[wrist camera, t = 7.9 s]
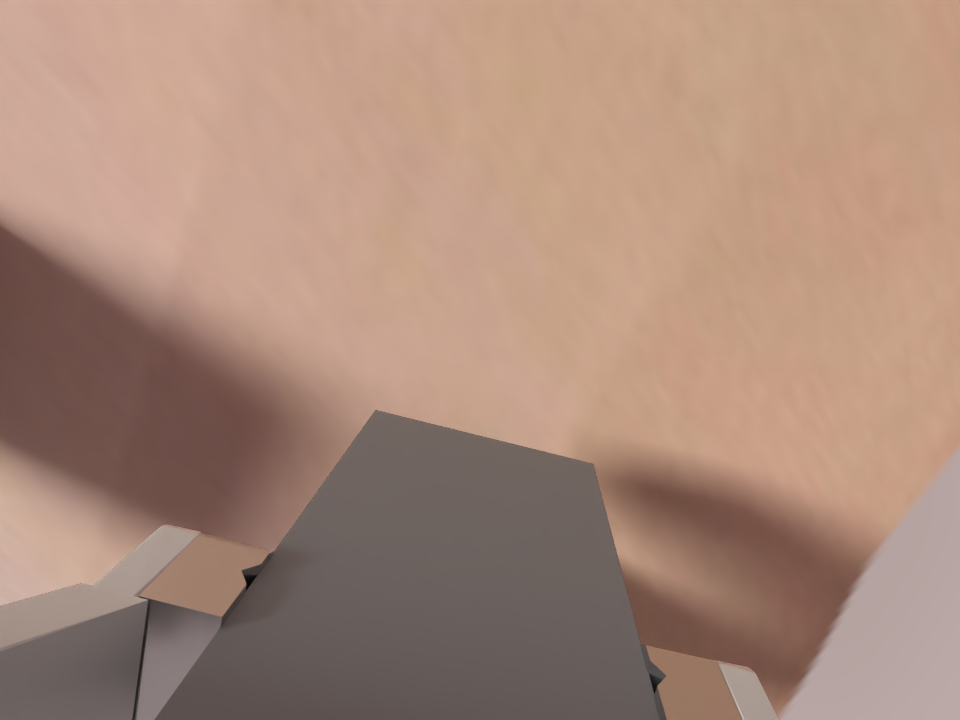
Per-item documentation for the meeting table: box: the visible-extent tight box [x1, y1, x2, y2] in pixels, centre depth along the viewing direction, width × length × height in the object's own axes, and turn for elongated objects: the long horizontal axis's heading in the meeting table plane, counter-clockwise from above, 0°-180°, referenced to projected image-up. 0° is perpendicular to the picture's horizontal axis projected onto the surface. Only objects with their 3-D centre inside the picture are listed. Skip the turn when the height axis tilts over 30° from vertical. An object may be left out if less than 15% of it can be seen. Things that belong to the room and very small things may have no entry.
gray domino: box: [154, 410, 659, 720], centre depth 10 cm, size 2×5×10 cm, turn 77°
